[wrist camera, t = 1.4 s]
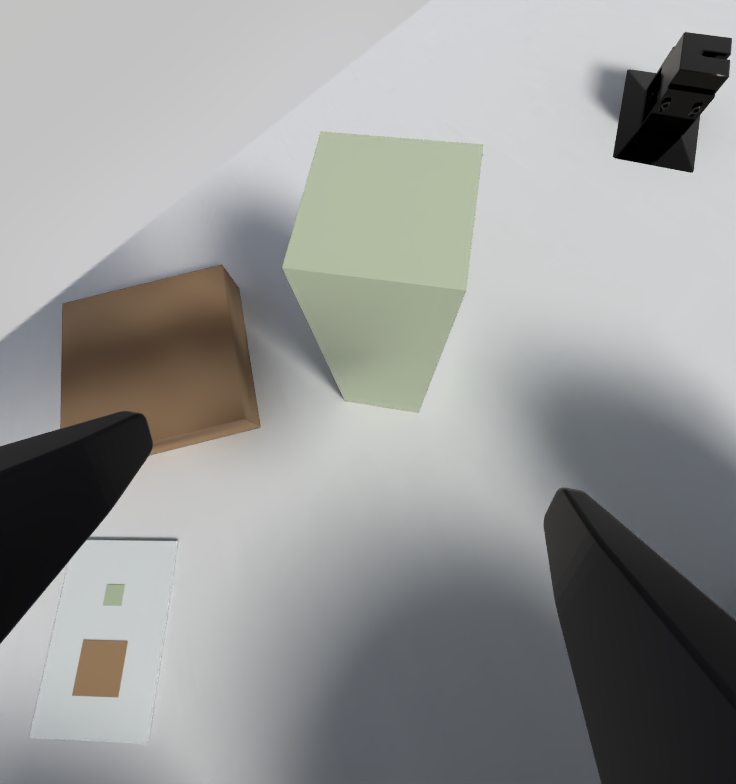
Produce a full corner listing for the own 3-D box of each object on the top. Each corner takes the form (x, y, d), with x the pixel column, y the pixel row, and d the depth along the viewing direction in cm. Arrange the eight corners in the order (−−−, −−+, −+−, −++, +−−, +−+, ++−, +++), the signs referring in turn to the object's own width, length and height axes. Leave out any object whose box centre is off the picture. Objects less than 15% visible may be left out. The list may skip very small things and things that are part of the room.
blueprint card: (148, 741, 17) (146, 744, 16) (32, 735, 17) (27, 738, 17) (178, 540, 19) (175, 541, 19) (75, 539, 20) (72, 539, 19)
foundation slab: (260, 427, 21) (243, 418, 18) (97, 468, 21) (59, 465, 18) (238, 287, 24) (221, 264, 21) (95, 322, 23) (62, 303, 21)
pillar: (418, 412, 21) (465, 290, 8) (344, 401, 21) (281, 267, 8) (428, 344, 22) (483, 144, 9) (358, 334, 22) (320, 131, 10)
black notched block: (696, 199, 24) (764, 134, 20) (589, 178, 25) (632, 112, 21) (709, 77, 27) (770, -2, 23) (613, 63, 28) (654, -16, 24)
